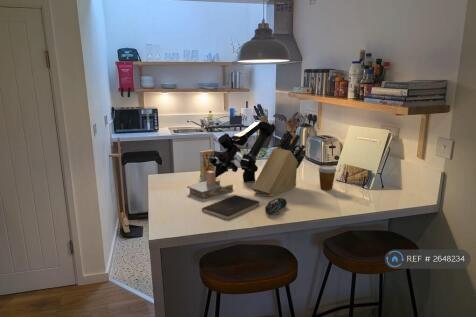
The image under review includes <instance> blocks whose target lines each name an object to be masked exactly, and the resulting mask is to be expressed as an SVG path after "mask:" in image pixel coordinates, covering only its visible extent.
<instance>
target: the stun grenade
mask: <svg viewBox="0 0 476 317" xmlns="http://www.w3.org/2000/svg"><path fill="white" fill-rule="evenodd" d="M287 204H288V201H287V199H286V198H284V197H275V198H273V199H272V200H270V201H268V203H267V204H266V205H265V210H264V212H265V215H271V214H272V215H276V216H279V215H280V211H279V210H280V209H282V208H285V207H286V206H287ZM276 212H277V214H276Z"/></svg>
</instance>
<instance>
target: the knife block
mask: <svg viewBox="0 0 476 317" xmlns="http://www.w3.org/2000/svg"><path fill="white" fill-rule="evenodd" d="M300 137H301V136H300V135H299V134H296V135H295V136H294V135H293V134H292V133H291V131H290V130H289V129H288V130H285V132H284V133H283V135H282V137H281V138H280V140H279V143H278V145H277V147H274V148H273V149H272V150H271V153H270V154H269V156H268V157H267V160H266V162H265V163H264V165H263V167H262V169H261V171H260V173H259V175H258V176H257V179H255V182H254V184H253V186H252V187H251V189H252V191H253V192H255V193H259V194H262V195H264V196H267V197H273V196H275V195H277V194H281V193H283V192H284V191H286V190H290V189H292V188H294V187H296V186H297V185H296V184H297V171H298V169H299V167H300V165H301V164H302V162H303V160H304V159H305V156H306V155H305V154H303V152H304V149H305V148H306V146H305V144H302V145H301V146H300V145H298V142H299V141H300ZM297 148H298V150H297V152H296V149H297ZM295 152H296V153H295Z"/></svg>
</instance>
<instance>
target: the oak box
mask: <svg viewBox="0 0 476 317" xmlns="http://www.w3.org/2000/svg"><path fill="white" fill-rule="evenodd" d="M216 184H217V185H220V186H221V180H220V179H216ZM233 190H234V184H233V183H230V184H227V185H224V186H222V188H219V189H215V190H212V191H208V192H205V193H201V192H198V191H195V190H193V189H190V188H189V194H191V195H194V196H197V197H198V198H201V199H207V198H210V197H213V196H217V195H221V194H224V193H227V192H231V191H233Z"/></svg>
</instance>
